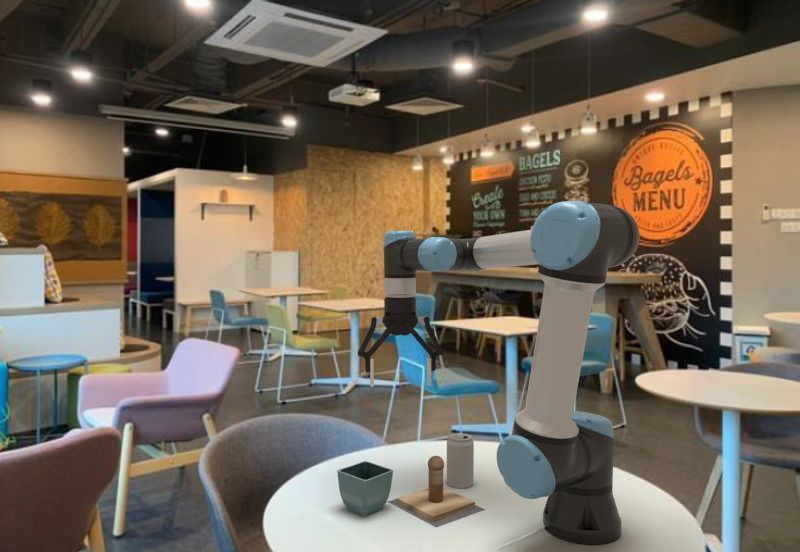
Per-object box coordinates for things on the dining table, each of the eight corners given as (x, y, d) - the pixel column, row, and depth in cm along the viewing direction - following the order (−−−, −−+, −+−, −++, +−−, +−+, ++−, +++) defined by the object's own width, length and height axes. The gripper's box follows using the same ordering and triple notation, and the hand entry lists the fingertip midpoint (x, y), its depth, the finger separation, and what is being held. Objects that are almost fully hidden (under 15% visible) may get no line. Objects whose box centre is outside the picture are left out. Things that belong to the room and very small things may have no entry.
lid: (475, 507, 131) (475, 457, 130) (433, 522, 123) (433, 469, 123) (437, 490, 140) (438, 444, 140) (396, 503, 133) (397, 454, 132)
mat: (485, 512, 130) (485, 509, 130) (436, 530, 121) (436, 527, 121) (435, 489, 142) (435, 486, 142) (387, 504, 134) (387, 501, 134)
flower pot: (394, 510, 130) (394, 469, 130) (365, 524, 124) (365, 480, 123) (365, 499, 136) (365, 460, 136) (335, 512, 129) (336, 470, 129)
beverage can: (472, 492, 141) (472, 440, 140) (444, 490, 142) (445, 439, 141) (474, 482, 147) (474, 433, 146) (448, 480, 148) (448, 431, 148)
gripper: (449, 294, 149) (450, 381, 149) (347, 295, 147) (348, 383, 147) (454, 296, 141) (455, 387, 142) (347, 297, 140) (347, 389, 140)
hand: (400, 385), depth 145 cm, fingers open, 13 cm apart
